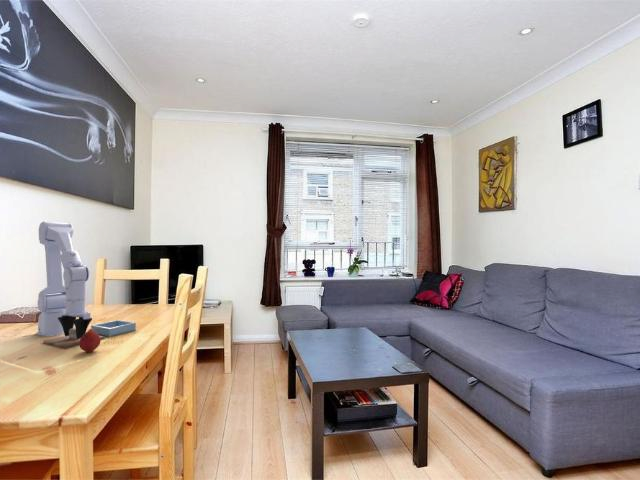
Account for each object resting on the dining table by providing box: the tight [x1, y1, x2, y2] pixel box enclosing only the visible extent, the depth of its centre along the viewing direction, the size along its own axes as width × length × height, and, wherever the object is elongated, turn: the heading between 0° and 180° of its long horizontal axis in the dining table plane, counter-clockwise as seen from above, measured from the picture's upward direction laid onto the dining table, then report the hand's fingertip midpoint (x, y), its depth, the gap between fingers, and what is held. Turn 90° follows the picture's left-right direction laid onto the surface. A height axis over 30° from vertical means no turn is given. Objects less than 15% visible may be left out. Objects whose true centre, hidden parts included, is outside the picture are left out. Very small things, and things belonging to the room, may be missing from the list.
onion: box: [79, 327, 102, 353], centre depth 111 cm, size 6×6×8 cm
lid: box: [42, 327, 105, 349], centre depth 122 cm, size 13×13×4 cm
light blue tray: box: [90, 319, 137, 338], centre depth 135 cm, size 11×11×4 cm
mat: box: [40, 337, 106, 350], centre depth 122 cm, size 14×14×1 cm
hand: (74, 336), depth 122 cm, fingers open, 7 cm apart
